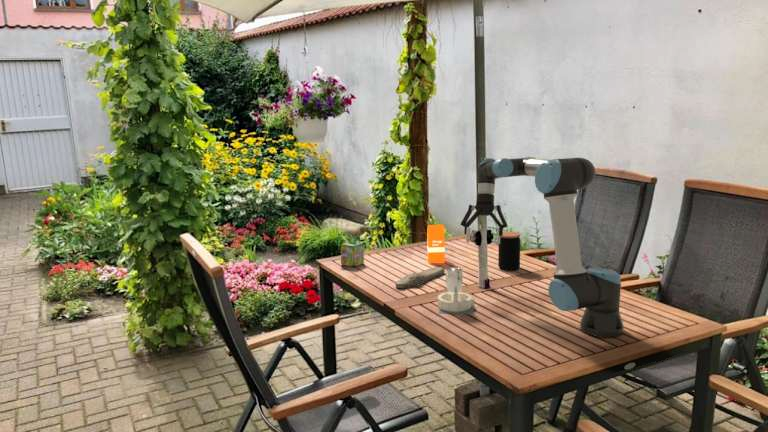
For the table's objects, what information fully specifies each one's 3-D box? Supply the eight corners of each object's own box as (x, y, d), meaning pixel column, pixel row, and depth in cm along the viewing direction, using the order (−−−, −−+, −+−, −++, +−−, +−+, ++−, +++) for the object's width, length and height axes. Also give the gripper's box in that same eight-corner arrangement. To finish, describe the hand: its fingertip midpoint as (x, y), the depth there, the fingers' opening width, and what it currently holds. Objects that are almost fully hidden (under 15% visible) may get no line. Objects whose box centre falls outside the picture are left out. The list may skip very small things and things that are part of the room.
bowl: (471, 312, 241) (471, 303, 240) (436, 311, 243) (436, 302, 242) (471, 301, 255) (471, 292, 254) (439, 300, 257) (438, 291, 256)
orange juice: (444, 262, 317) (444, 226, 313) (428, 263, 317) (427, 226, 313) (443, 258, 325) (443, 223, 321) (427, 259, 325) (426, 223, 321)
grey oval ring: (473, 315, 239) (473, 314, 239) (438, 314, 241) (438, 313, 241) (474, 300, 256) (474, 299, 256) (441, 300, 259) (441, 298, 259)
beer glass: (458, 307, 244) (458, 272, 241) (443, 305, 248) (442, 270, 245) (465, 302, 250) (465, 268, 247) (450, 300, 253) (450, 266, 250)
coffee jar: (522, 267, 305) (523, 232, 301) (515, 272, 296) (515, 237, 292) (502, 264, 310) (503, 230, 307) (495, 269, 302) (495, 235, 298)
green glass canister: (340, 265, 318) (339, 238, 315) (351, 261, 325) (350, 235, 323) (354, 267, 313) (353, 240, 310) (364, 263, 320) (363, 236, 317)
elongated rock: (450, 276, 298) (433, 274, 305) (449, 265, 298) (433, 263, 304) (407, 290, 272) (390, 288, 278) (406, 279, 271) (390, 276, 278)
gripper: (516, 195, 256) (513, 244, 253) (461, 195, 267) (458, 242, 265) (511, 192, 249) (509, 243, 247) (455, 192, 260) (452, 241, 258)
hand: (482, 243), depth 256 cm, fingers open, 13 cm apart
